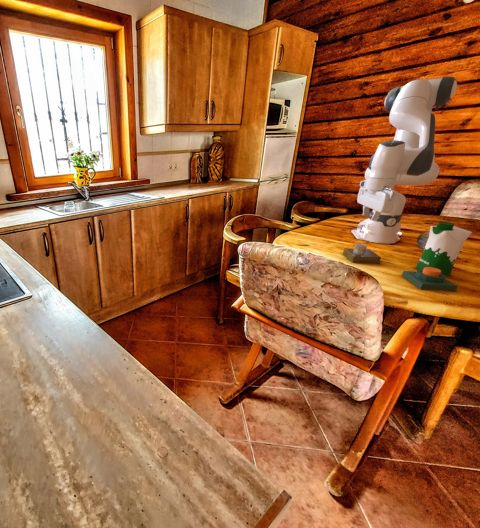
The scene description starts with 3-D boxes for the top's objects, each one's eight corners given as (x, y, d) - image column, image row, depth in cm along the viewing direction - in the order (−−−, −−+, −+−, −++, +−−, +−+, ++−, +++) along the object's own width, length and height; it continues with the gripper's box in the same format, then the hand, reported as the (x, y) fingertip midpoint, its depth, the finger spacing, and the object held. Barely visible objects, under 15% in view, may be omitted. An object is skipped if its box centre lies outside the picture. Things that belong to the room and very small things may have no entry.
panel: (339, 254, 131) (341, 247, 130) (367, 255, 128) (369, 248, 127) (350, 262, 122) (352, 256, 121) (380, 264, 119) (382, 257, 118)
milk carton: (411, 266, 115) (429, 220, 107) (437, 267, 114) (457, 220, 105) (427, 276, 108) (448, 226, 99) (455, 277, 106) (479, 226, 98)
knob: (351, 251, 126) (353, 242, 124) (361, 252, 125) (364, 243, 123) (355, 255, 122) (358, 245, 120) (366, 255, 121) (368, 246, 119)
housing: (401, 275, 109) (404, 266, 107) (432, 277, 107) (436, 268, 105) (420, 289, 99) (424, 279, 98) (455, 291, 97) (460, 281, 95)
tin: (413, 245, 136) (420, 229, 132) (419, 245, 136) (426, 228, 132) (448, 257, 122) (457, 239, 118) (455, 256, 122) (463, 238, 119)
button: (419, 271, 104) (421, 266, 103) (433, 272, 103) (435, 267, 102) (427, 276, 100) (429, 271, 99) (442, 277, 99) (444, 272, 98)
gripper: (405, 188, 101) (392, 225, 107) (375, 181, 119) (366, 212, 125) (384, 189, 103) (373, 225, 108) (358, 181, 121) (349, 212, 126)
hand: (369, 218), depth 117 cm, fingers open, 5 cm apart
